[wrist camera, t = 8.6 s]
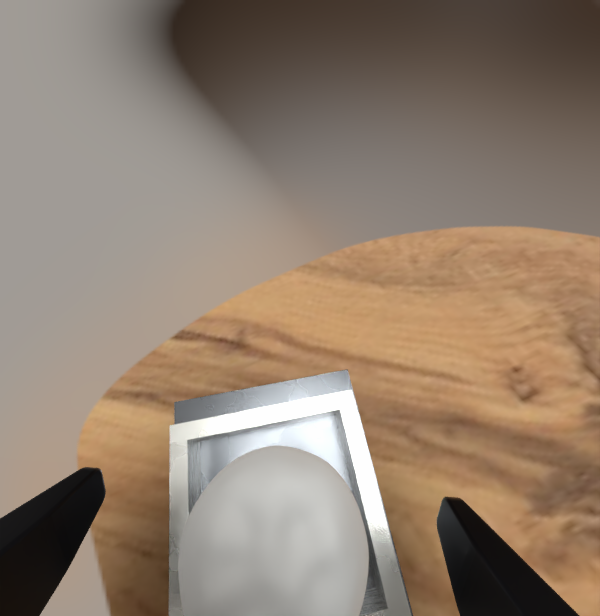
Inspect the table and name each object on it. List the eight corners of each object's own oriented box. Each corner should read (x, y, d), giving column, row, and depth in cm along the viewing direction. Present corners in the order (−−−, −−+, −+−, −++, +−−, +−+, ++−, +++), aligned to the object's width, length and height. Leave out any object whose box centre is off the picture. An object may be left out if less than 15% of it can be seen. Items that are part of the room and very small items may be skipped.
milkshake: (253, 607, 13) (173, 958, 4) (224, 472, 15) (131, 491, 6) (349, 559, 13) (471, 751, 5) (308, 439, 16) (336, 412, 7)
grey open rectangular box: (399, 616, 15) (444, 685, 10) (198, 671, 14) (151, 774, 9) (340, 380, 20) (353, 359, 16) (191, 409, 19) (159, 395, 15)
